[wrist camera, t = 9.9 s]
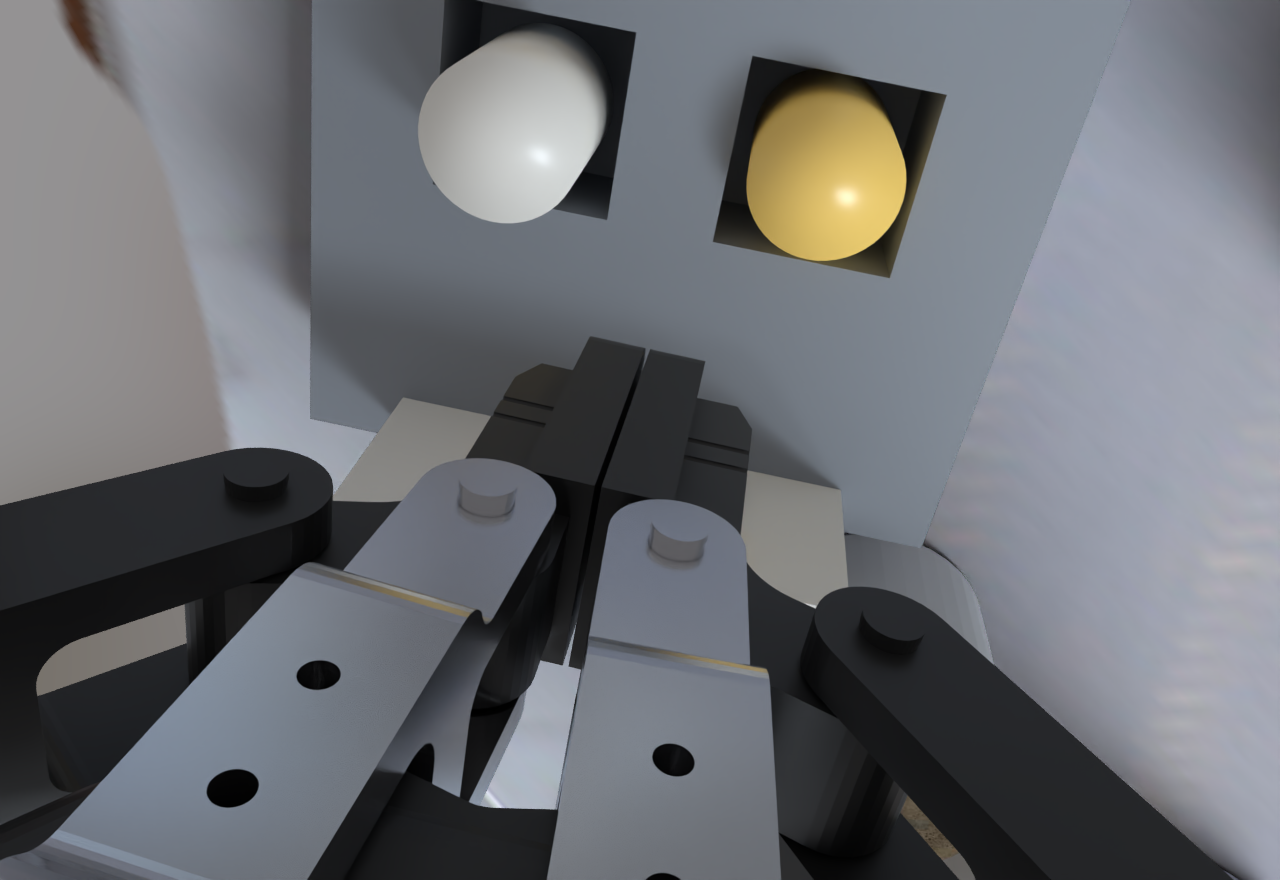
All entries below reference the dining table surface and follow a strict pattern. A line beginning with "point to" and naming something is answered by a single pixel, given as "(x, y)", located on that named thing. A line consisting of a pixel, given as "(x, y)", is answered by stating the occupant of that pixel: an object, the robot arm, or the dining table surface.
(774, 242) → the amber button
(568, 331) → the console
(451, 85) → the cream button
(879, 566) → the mug
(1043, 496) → the dining table surface
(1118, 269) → the dining table surface
